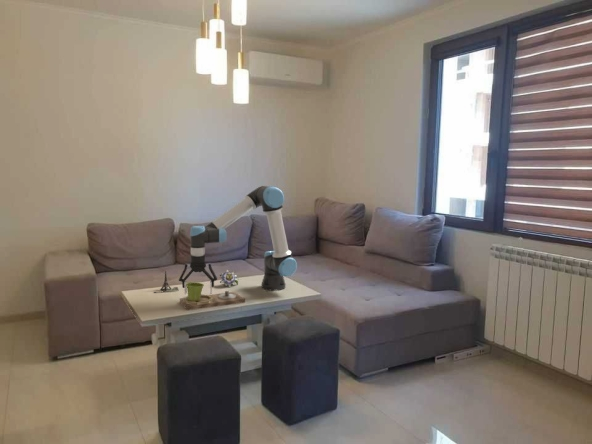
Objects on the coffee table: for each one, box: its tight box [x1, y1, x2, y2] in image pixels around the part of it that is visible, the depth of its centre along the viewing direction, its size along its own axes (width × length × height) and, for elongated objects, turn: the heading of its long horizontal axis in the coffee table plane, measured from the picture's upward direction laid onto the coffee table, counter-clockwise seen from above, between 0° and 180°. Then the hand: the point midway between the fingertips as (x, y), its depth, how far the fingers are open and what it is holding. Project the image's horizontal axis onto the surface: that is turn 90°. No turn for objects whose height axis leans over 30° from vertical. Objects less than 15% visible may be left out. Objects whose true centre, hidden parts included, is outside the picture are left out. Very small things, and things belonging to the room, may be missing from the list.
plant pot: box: [186, 282, 205, 302], centre depth 249 cm, size 9×9×9 cm
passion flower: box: [219, 269, 239, 288], centre depth 290 cm, size 11×11×12 cm
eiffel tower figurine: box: [159, 270, 180, 293], centre depth 277 cm, size 15×10×13 cm
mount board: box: [179, 290, 246, 311], centre depth 254 cm, size 32×16×5 cm, turn 119°
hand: (198, 293), depth 250 cm, fingers open, 13 cm apart
